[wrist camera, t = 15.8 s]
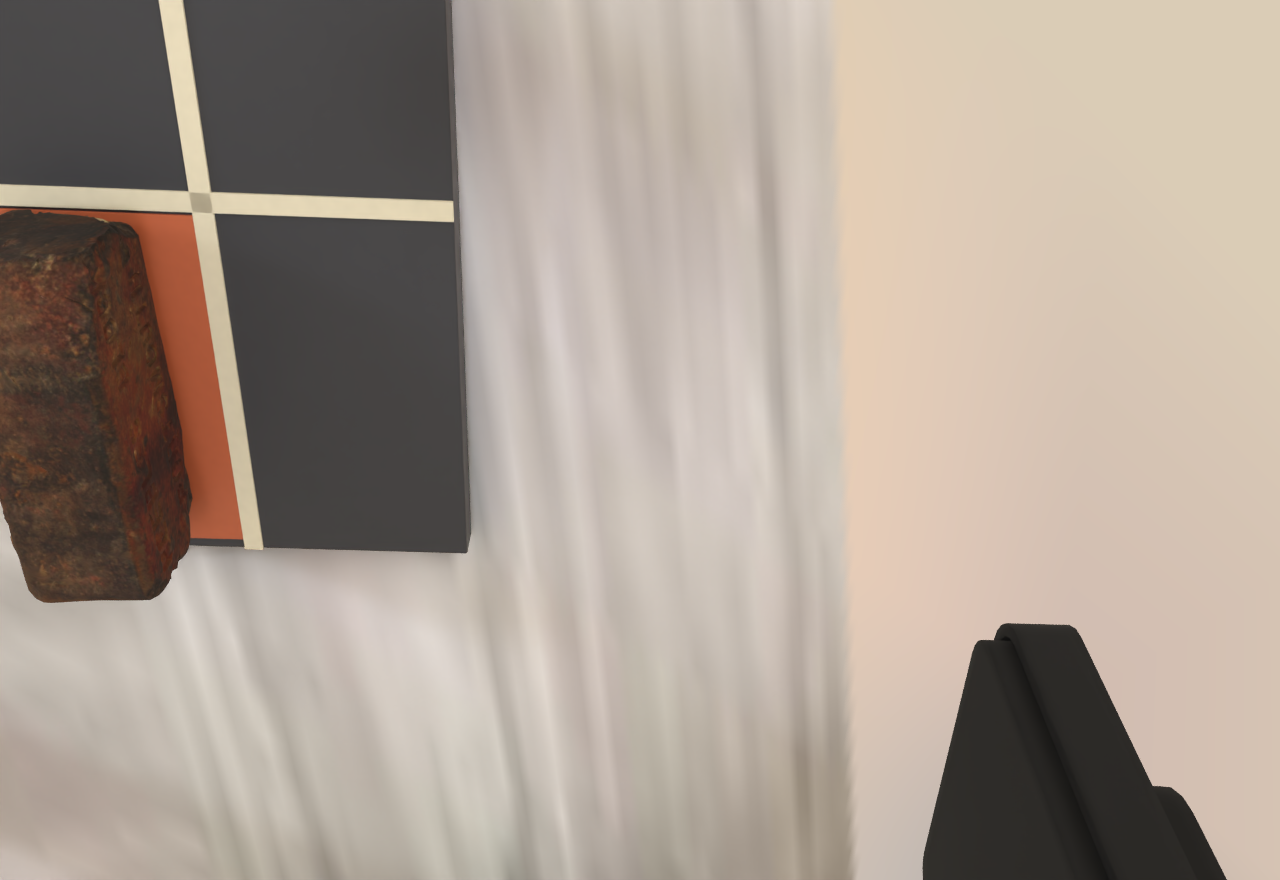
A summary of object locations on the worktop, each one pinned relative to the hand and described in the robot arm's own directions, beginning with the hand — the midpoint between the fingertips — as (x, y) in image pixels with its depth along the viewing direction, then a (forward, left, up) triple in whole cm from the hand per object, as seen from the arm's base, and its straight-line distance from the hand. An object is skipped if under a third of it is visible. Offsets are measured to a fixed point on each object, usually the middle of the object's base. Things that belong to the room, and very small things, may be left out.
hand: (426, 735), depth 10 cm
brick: (+14, +11, -25) cm, 30 cm away
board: (+10, +5, -26) cm, 29 cm away
